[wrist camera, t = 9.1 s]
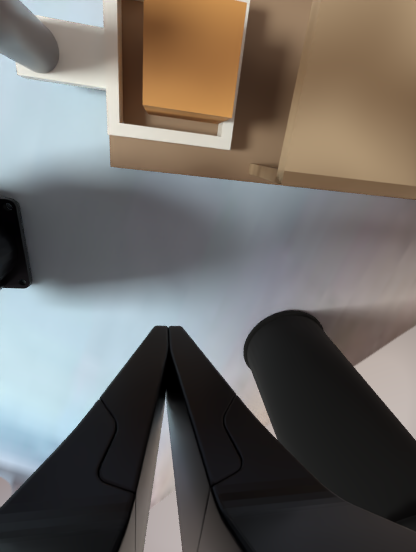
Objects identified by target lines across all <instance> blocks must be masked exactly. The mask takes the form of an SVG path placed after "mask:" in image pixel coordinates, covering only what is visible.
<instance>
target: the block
mask: <svg viewBox="0 0 416 552" xmlns="http://www.w3.org/2000/svg"><path fill="white" fill-rule="evenodd" d="M246 7H247V3H246V2H241V1H237V0H144V16H143V106H144V108H145V110H146V112H147V113H148V114H150V115H157V116H164V117H171V118H178V119H185V120H192V121H199V122H206V123H213V124H219V123H221V122H224V121H226V120H228V119H231V118H232V114H233V106H234V99H235V91H236V83H237V76H238V68H239V61H240V53H241V45H242V38H243V30H244V22H245V15H246Z"/></svg>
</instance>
